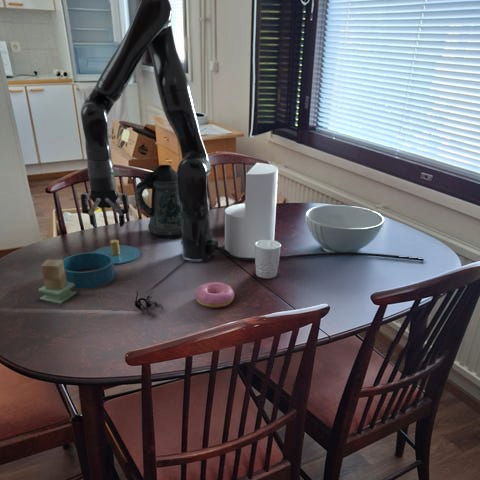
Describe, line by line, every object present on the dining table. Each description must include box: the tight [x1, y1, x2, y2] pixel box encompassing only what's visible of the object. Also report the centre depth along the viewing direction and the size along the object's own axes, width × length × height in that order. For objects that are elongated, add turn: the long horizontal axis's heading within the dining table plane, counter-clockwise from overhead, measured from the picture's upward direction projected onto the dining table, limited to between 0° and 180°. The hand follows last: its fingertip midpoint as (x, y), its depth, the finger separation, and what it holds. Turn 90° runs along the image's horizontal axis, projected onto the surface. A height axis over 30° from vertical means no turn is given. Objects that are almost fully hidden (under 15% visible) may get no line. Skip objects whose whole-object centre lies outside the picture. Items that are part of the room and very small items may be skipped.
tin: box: [62, 252, 116, 290], centre depth 144 cm, size 15×15×6 cm
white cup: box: [254, 239, 282, 279], centre depth 148 cm, size 8×8×10 cm
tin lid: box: [91, 239, 141, 266], centre depth 159 cm, size 16×16×6 cm
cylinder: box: [224, 162, 279, 258], centre depth 162 cm, size 17×17×28 cm
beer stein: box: [134, 164, 182, 241], centre depth 174 cm, size 16×19×25 cm
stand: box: [38, 282, 77, 304], centre depth 133 cm, size 7×7×4 cm
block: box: [40, 259, 67, 290], centre depth 131 cm, size 4×4×7 cm
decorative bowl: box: [304, 204, 385, 253], centre depth 168 cm, size 27×27×12 cm
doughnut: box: [194, 281, 235, 309], centre depth 133 cm, size 11×11×4 cm
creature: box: [133, 290, 164, 318], centre depth 127 cm, size 8×5×8 cm
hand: (108, 226), depth 152 cm, fingers open, 8 cm apart
